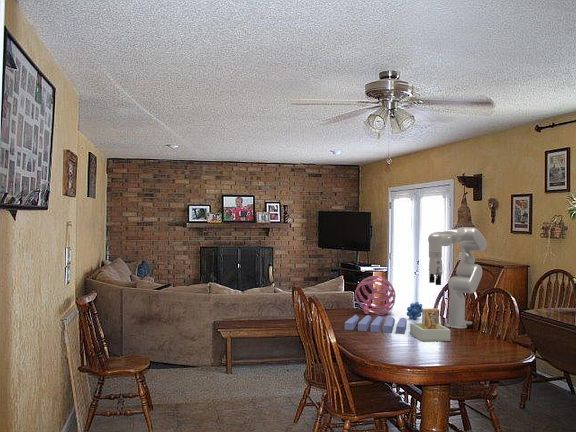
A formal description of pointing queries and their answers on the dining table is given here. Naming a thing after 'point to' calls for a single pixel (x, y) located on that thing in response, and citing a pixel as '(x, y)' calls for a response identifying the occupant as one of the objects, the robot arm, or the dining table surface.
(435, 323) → the candy box
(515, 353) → the dining table surface
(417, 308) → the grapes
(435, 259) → the robot arm
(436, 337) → the crate
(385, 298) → the pink lattice ball
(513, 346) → the dining table surface
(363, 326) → the blocks
